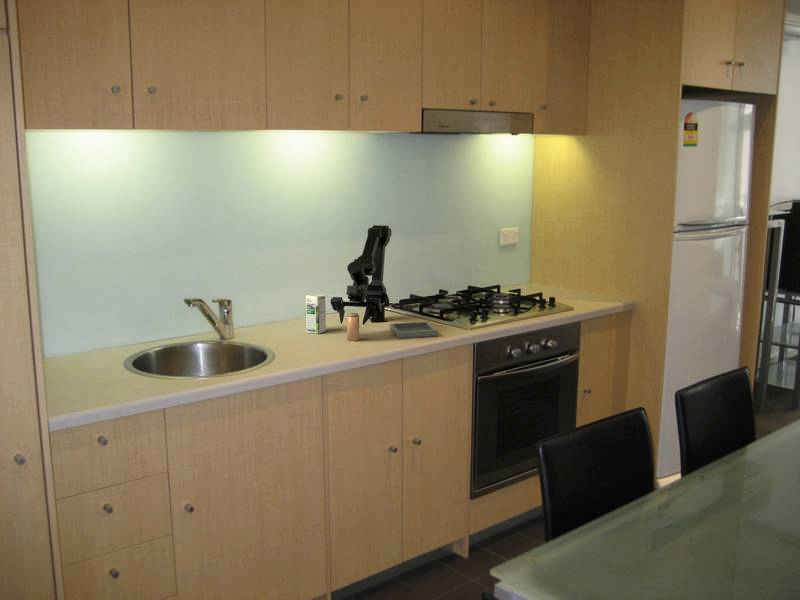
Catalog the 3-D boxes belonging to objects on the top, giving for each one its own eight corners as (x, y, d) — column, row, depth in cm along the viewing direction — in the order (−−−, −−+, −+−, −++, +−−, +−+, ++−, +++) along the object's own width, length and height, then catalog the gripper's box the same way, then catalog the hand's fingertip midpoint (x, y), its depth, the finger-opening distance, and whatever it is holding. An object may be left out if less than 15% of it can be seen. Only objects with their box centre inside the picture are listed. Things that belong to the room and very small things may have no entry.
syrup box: (305, 332, 306) (304, 296, 303) (314, 329, 311) (313, 293, 309) (318, 334, 304) (317, 297, 301) (326, 331, 309) (325, 294, 306)
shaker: (346, 339, 296) (346, 312, 295) (358, 338, 297) (357, 312, 295) (348, 341, 292) (347, 315, 290) (360, 341, 293) (359, 314, 291)
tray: (390, 329, 310) (390, 323, 310) (427, 327, 313) (427, 321, 313) (398, 339, 296) (398, 332, 295) (437, 336, 299) (437, 330, 298)
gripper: (331, 275, 296) (322, 310, 288) (379, 277, 292) (372, 312, 284) (337, 292, 305) (329, 326, 297) (384, 294, 301) (378, 329, 293)
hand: (352, 323), depth 292 cm, fingers open, 8 cm apart
